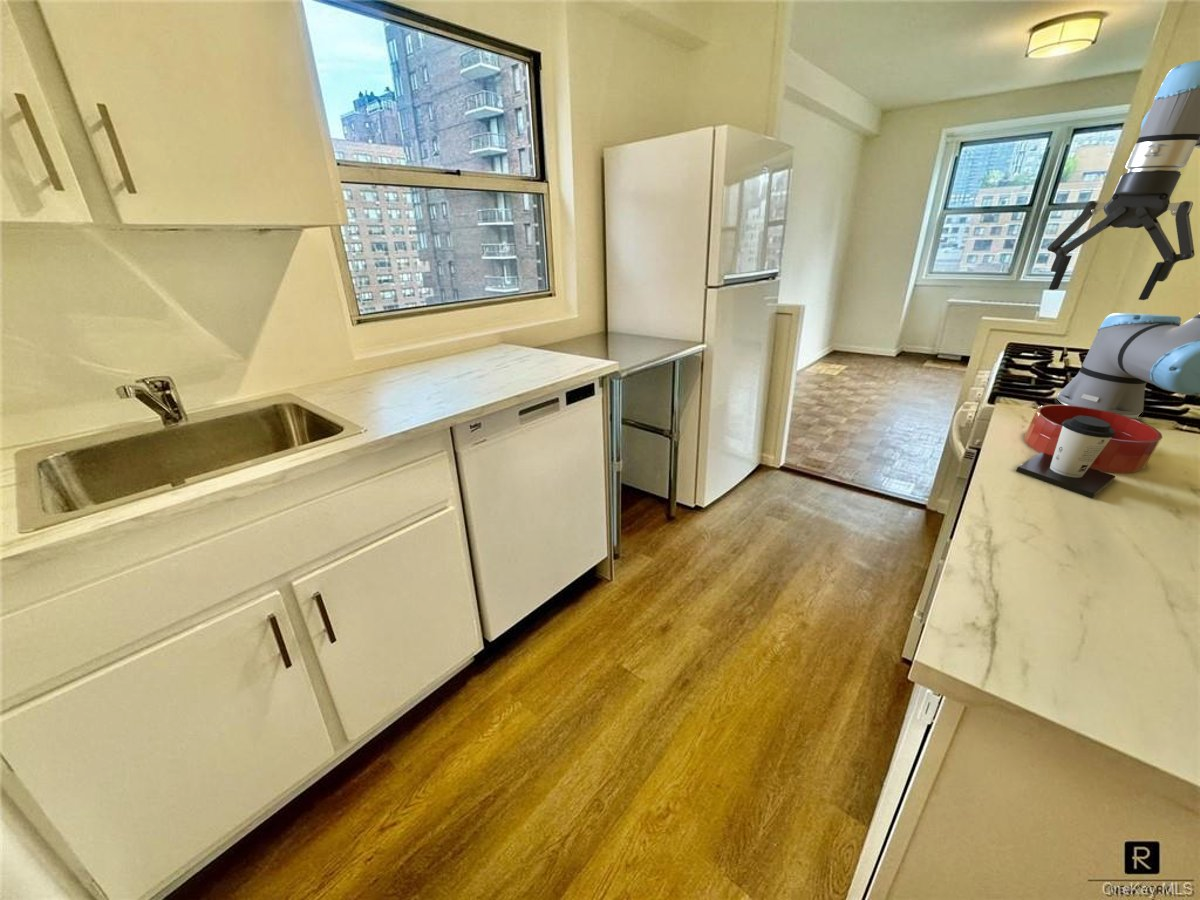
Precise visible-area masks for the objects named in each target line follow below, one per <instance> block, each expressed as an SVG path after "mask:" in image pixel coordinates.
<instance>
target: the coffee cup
mask: <svg viewBox="0 0 1200 900" xmlns="http://www.w3.org/2000/svg"><path fill="white" fill-rule="evenodd" d="M1062 425H1063V426H1062V430H1061V433H1060V436H1059V439H1058V443H1057V446H1056V449H1055V452H1054V456H1053V459H1052V462H1051V465H1050V469H1051V470H1053V471H1054V472H1056V473H1058V474H1061V475H1064V476H1068V477H1077V478H1078V477H1082V476H1083V475H1084V474H1085V472H1086V471H1087V470H1088V468H1089V467H1090V466H1091V464H1092V463H1093V462H1094V460H1095V459H1096V458H1097V456H1098V455H1099V454H1100V452H1101V451H1102V450H1103V448H1104V447H1105V446H1106V444H1107V443H1108V442H1109V440H1110V439H1111V438H1112V437H1114V436H1115V431H1114V430H1113V429H1112V428H1110V424H1109V423H1108V422H1105V421H1103V420H1101V419H1098V418H1095V417H1090V416H1082V415H1079V416H1076V417H1074V418H1073V419H1067V420H1065V421H1064V422H1063V423H1062Z"/></svg>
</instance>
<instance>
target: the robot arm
mask: <svg viewBox="0 0 1200 900" xmlns="http://www.w3.org/2000/svg"><path fill="white" fill-rule="evenodd" d="M1140 126H1141V127H1140V133H1139V134H1138V137H1137V140H1136V142H1135V143H1134V146H1133V149H1132V151H1131V153H1130V155H1129V158H1128V159H1127V162H1126V165H1125V169H1126V170H1127V172H1124V173H1123V174H1121V176H1120V178H1119V181H1118V183H1117V185H1116V188H1115V190H1114V191H1113V194H1112V196H1111V198H1110V199H1109V201H1108V202H1100V201H1098V200H1089V201H1088V202H1086V204H1085V206H1084V207H1083V210H1082V212H1081V213H1080V215H1078V216H1077V217H1076V218H1075V219H1074V220H1073V221H1072V222H1071V224H1069V225H1068V226H1067V227H1066V228H1065V229H1064V230H1063V231H1061V233H1060V234H1059V235H1058V237H1056V238H1055V239H1054V240H1053V241H1052V242H1051V243H1050V244H1049V245H1048V246H1047V247H1046V248H1047V251H1048V252H1051V253H1054V254H1055V258H1054V260H1053V263H1052V265H1051V268H1050V272H1051V273H1054V275H1053V277H1052V279H1051V283H1050V285H1049V287H1048V290H1049V291H1056V290H1059V287H1060V285H1061V283H1062V280H1063V279H1064V276H1065V273H1066V271H1067V269H1068V266H1069V265H1070V262H1071V260H1072V257H1073V256H1072V255H1070V254H1069V253H1071V252H1072V251H1074V250H1075V249H1077V248H1079V247H1080V246H1082V245H1083V244H1084V243H1086V242H1087V241H1090V240H1091V239H1092V238H1094V237H1095V236H1097V235H1098V234H1099V233H1101V232H1103V231H1104V230H1107V229H1108V228H1110V227H1112V228H1115V229H1120V228H1121V229H1122V228H1129V229H1140V228H1141V229H1142V228H1143V227H1144V229H1145V231H1146V232H1147V233H1148V235H1149V237H1150V238H1151V241H1152V242H1153V244H1154V245H1155V247H1156V249H1157V250H1158V252H1159V255H1160V256H1161V258H1162V260H1163V261H1158V262H1156V263H1155V265H1154V267H1153V269H1152V271H1151V273H1150V275H1149V277H1148V279H1147V281H1146V283H1145V285H1144V287H1143V289H1142V291H1141V293H1140V295H1139V297H1138V300H1139V301H1146V300H1149V298H1150V297H1151V294H1152V292H1153V290H1154V288H1155V286H1156V284H1157V282H1161V283H1162V282H1165V281H1166V280H1167V279H1168V278H1169V276H1170V273H1171V271H1172V270H1173V267H1174V266H1175V264H1177V263H1178V262H1181V261H1186V260H1191V259H1193V258H1194V257H1195V255H1196V254H1195V253H1196V252H1195V246H1194V239H1193V233H1192V224H1191V218H1190V214H1191V212H1192V209H1193V206H1194V202H1193V201H1192V200H1184V201H1181V202H1170V201H1171V200H1170V199H1171V197H1172V194H1173V193H1174V191H1175V189H1176V186H1177V184H1178V182H1179V180H1180V178H1181V176H1182V173H1181V171H1179V170H1180V169H1182V168H1184V167H1186V166H1187V164H1188V161H1189V160H1190V157H1191V156H1192V153H1193V151H1194V149H1195V148H1196V149H1200V59H1199V60H1193V61H1189V62H1184V63H1181V64H1178V65H1176V66H1174V67H1173V68H1172V69H1170V70H1169V71H1168V73H1167V74H1166V76H1165V77H1164V79H1163V81H1162V83H1161V85H1160V87H1159V89H1158V90H1157V92H1156V95H1155V96H1154V97H1153V102H1152V105H1151V107H1150V109H1149V110H1148V111H1147V112H1146V114H1145V116H1144V117H1143V119H1142V121H1141V124H1140ZM1102 210H1103V212H1104V214H1105V216H1106V217H1105V218H1103V219H1101V220H1100V221H1098V222H1097V223H1096V224H1095V225H1093V226H1092V227H1090V228H1088V230H1086V231H1084V232H1083V233H1081V234H1080V235H1079V236H1077V237H1075V238H1074V239H1072V240H1071V241H1069V242H1068V243H1067V241H1068V240H1069V239H1071V237H1073V235H1075V234H1076V233H1077V232H1078V231H1079V230H1080V229H1081V228H1082V227H1083V226H1084V225H1085V224H1086V223H1087V222H1088V221H1089V220H1090V219H1091V218H1092V217H1093V215H1097V214H1098V213H1100V211H1102ZM1167 211H1170V213H1171V214H1170V215H1171V216H1175V227H1176V235H1177V241H1178V246H1179V247H1178V249H1179V253H1176V251H1175V248H1174V247H1173V245H1172V243H1171V242H1170V240H1169V238H1168V236H1167V235H1166V233H1165V231H1164V230H1163V228H1162V227H1161V223H1160V221H1159V220H1158V217H1160V216H1162V215H1163V214H1164V213H1166V212H1167ZM1065 243H1066V244H1065ZM1064 244H1065V245H1064ZM1063 245H1064V246H1063ZM1181 321H1182V318H1181V317H1180V316H1178V315H1168V314H1167V315H1166V314H1153V313H1134V312H1133V313H1132V312H1114V313H1111V314H1109V315H1107V316H1106V317H1105V318H1104V320H1103V321H1102V323H1101V325H1100V326H1099V327H1098V328H1097V332H1096V334H1095V337H1094V339H1093V341H1092V343H1091V345H1090V347H1089V350H1088V352H1087V354H1086V356H1085V358H1084V360H1083V362H1082V364H1081V367H1080V369H1079V370H1078V373H1077V374H1076V375H1075V376H1074V377H1073V378H1072V379H1071V380H1070V381H1069V382H1068V383H1067V384H1066V385H1065V386H1064V387H1063V388H1062V389H1061V391H1060V390H1059V393H1057V395H1056V397H1055V399H1054V405H1073V406H1080V407H1088V408H1093V409H1098V410H1103V411H1107V412H1111V413H1116V414H1119V415H1123V416H1126V417H1129V418H1132V419H1135V420H1138V421H1140V418H1141V416H1140V417H1138V416H1139V415H1140V414H1141V413H1142V412H1143V413H1144V408H1145V407H1144V405H1145V391H1146V385H1147V383H1149V384H1152V385H1153V386H1156V387H1157V388H1160V389H1162V390H1164V391H1167V392H1173V393H1176V394H1179V395H1186V396H1200V313H1198V314H1196V315H1194V316H1193V317H1192V318H1190V319H1188V320H1187V321H1185V322H1183V323H1182V322H1181ZM1056 399H1057V400H1058V401H1059V402H1060V403H1061V404H1060V403H1059V402H1058V401H1057V400H1056ZM1143 413H1142V414H1143ZM1137 417H1138V418H1137Z"/></svg>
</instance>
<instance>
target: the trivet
mask: <svg viewBox="0 0 1200 900" xmlns="http://www.w3.org/2000/svg"><path fill="white" fill-rule="evenodd" d="M1052 459H1053V456H1052V455H1048V454H1045V453H1042V452H1039V453H1038V454H1036V455H1035V456H1032V457H1031V458H1029V459H1028V460H1026V461H1025V462H1023V463H1021V464H1020V465H1018V466H1017V467H1016V470H1015V471H1016V472H1017V473H1019V474H1022V475H1026V476H1028V477H1031V478H1033V479H1037V480H1040V481H1042V482H1045V483H1048V484H1050V485H1053V486H1057V487H1059V488H1062V489H1065V490H1068V491H1069V492H1073V493H1076V494H1079V495H1082V496H1084V497H1087V498H1091V499H1093V498H1095V497H1096V496H1097V495H1098V494H1099V493H1100V492H1102V491H1103V490H1104V489H1106V487H1108V486H1109V485H1110V484H1112V482H1114V480H1115V479H1116V475H1114V474H1111V473H1109V472H1106V471H1100V470H1095V469H1092V468H1088V470H1087V471H1086V472H1085V474H1084V475H1083V476H1082V477H1078V478H1077V477H1068V476H1064V475H1061V474H1058V473H1056V472H1054V471H1053V470H1051V469H1050V465H1051V462H1052Z"/></svg>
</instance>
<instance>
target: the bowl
mask: <svg viewBox="0 0 1200 900" xmlns="http://www.w3.org/2000/svg"><path fill="white" fill-rule="evenodd" d="M1079 415H1082V416H1090V417H1095V418H1098V419H1101V420H1103V421H1105V422H1108V423H1109V424H1110V428H1112V429H1113V430H1114V431H1115V436H1114V437H1112V438H1111V439H1110V440H1109V442H1108V443H1107V444H1106V446H1105V447H1104V448H1103V450H1102V451H1101V452H1100V454H1099V455H1098V456H1097V458H1096V459H1095V460H1094V462H1093V463H1092V464H1091V466H1090V467H1089V468H1092V469H1095V470H1099V471H1102V472H1106V473H1116V474H1117V473H1119V474H1129V473H1137V472H1140V471H1142V470H1143V469H1144V468H1145V467H1146V466H1147V465H1148V462H1149V461H1150V460H1151V457H1152V456H1153V454H1154V452H1155V451H1156V450H1157V448H1158V446H1159V444H1160V443H1161V441H1162V440H1163V434H1162V433H1161V432H1160V431H1159V430H1158V429H1156V427H1153V426H1151V425H1149V424H1147V423H1145V422H1143V421H1140V420H1135V419H1132V418H1129V417H1126V416H1123V415H1119V414H1116V413H1111V412H1107V411H1103V410H1098V409H1093V408H1088V407H1080V406H1073V405H1056V404H1046V405H1045V404H1044V405H1041V406H1039V407H1037V408H1036V410H1035V412H1034V415H1033V416H1032V419H1031V421H1030V423H1029V425H1028V427H1027V429H1026V432H1025V435H1024V436H1023V437H1024V438H1023V440H1024V442H1025V443H1026V444H1027V445H1028V446H1029V447H1030V448H1032V449H1034V450H1035V451H1036V452H1039V453H1041V452H1042V453H1045V454H1048V455H1052V456H1054V452H1055V449H1056V446H1057V443H1058V439H1059V436H1060V433H1061V430H1062V426H1063V425H1062V423H1063V422H1064V421H1065V420H1067V419H1073V418H1074V417H1076V416H1079Z"/></svg>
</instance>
